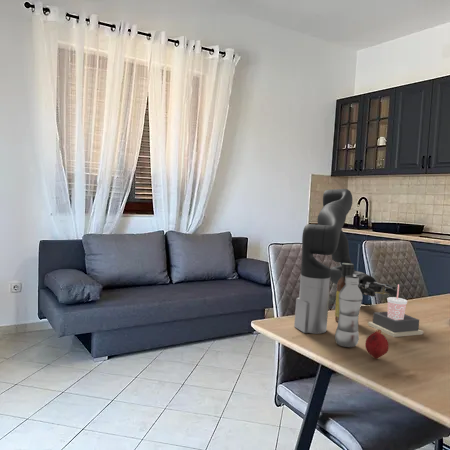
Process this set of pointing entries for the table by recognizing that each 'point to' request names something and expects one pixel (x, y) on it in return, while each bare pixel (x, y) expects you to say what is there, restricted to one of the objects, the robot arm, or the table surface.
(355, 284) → the plastic bottle
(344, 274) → the sauce bottle
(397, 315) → the beverage cup
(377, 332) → the onion
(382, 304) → the table surface
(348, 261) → the robot arm
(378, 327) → the grey tray on board
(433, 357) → the table surface
